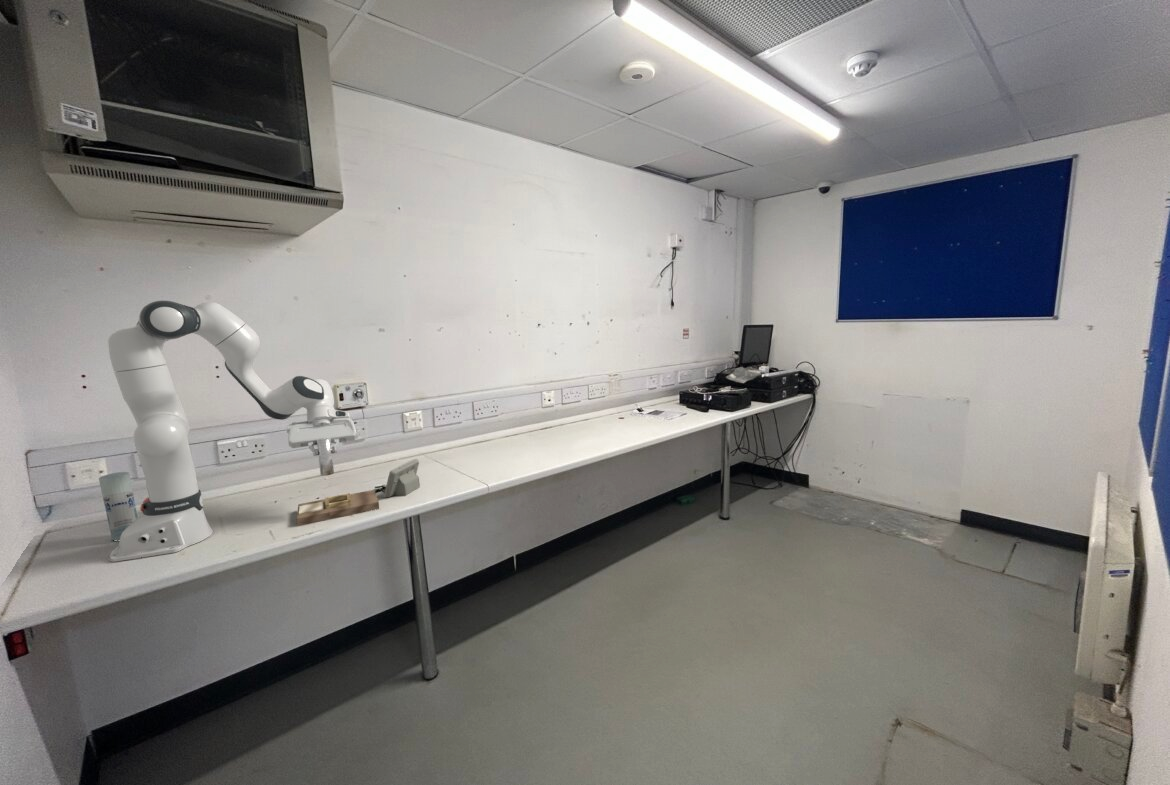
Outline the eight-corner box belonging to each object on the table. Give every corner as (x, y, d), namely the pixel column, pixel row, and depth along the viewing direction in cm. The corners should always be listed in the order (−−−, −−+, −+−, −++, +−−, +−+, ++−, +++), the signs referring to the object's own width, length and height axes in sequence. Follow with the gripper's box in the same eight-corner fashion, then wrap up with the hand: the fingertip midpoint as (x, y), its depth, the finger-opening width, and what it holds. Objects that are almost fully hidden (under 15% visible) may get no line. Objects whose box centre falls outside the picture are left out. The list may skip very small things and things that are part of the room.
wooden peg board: (297, 526, 145) (296, 514, 144) (299, 511, 157) (297, 500, 156) (379, 508, 157) (378, 497, 156) (374, 496, 169) (373, 485, 168)
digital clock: (412, 482, 182) (409, 457, 181) (428, 485, 178) (426, 459, 177) (378, 497, 168) (375, 469, 166) (395, 500, 164) (392, 472, 162)
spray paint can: (112, 537, 141) (99, 475, 138) (141, 530, 145) (129, 470, 142) (111, 544, 136) (98, 480, 133) (141, 536, 141) (129, 474, 138)
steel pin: (320, 476, 151) (316, 441, 149) (320, 473, 154) (316, 438, 152) (334, 474, 153) (330, 439, 151) (333, 471, 156) (330, 437, 154)
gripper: (285, 418, 151) (287, 453, 144) (353, 411, 161) (358, 444, 155) (287, 428, 156) (289, 463, 149) (354, 421, 166) (358, 453, 159)
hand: (325, 453), depth 152 cm, fingers closed on steel pin, 4 cm apart
